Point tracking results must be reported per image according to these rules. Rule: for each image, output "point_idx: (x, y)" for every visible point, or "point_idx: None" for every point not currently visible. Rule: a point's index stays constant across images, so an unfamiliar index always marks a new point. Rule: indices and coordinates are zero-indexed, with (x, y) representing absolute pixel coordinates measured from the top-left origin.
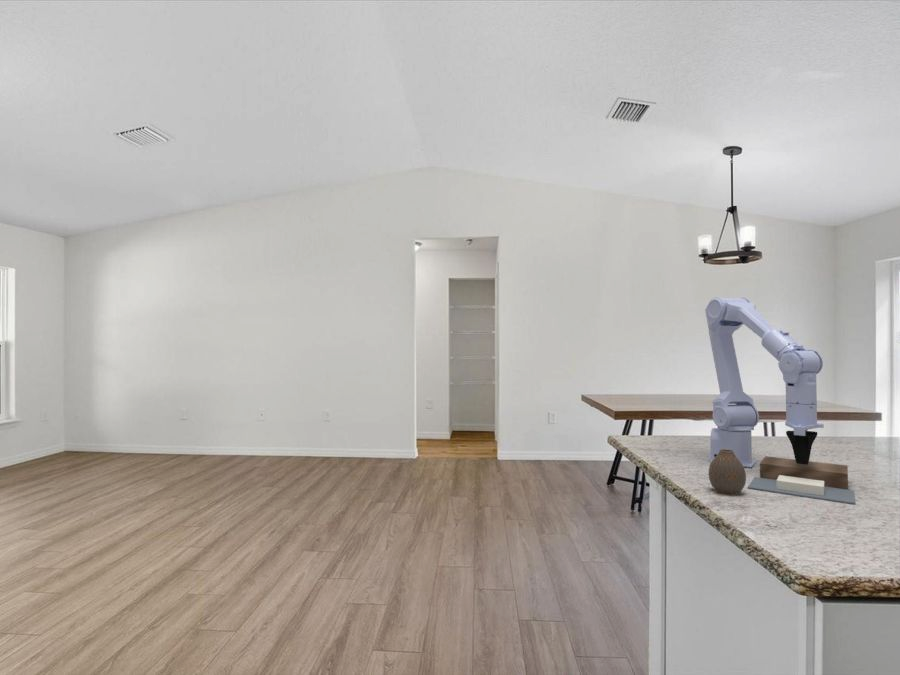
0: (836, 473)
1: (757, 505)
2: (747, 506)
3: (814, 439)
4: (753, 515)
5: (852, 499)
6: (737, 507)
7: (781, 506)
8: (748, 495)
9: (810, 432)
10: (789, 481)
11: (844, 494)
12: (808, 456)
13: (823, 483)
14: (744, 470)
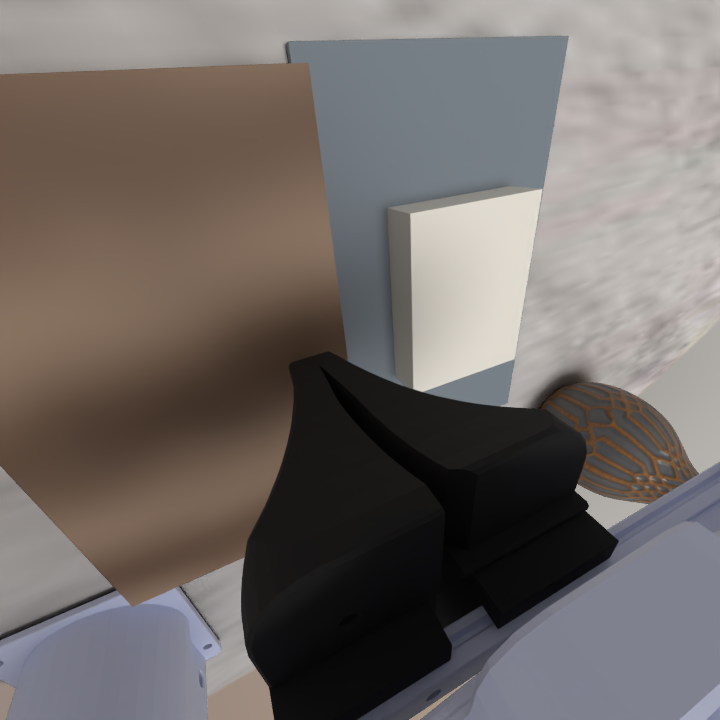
0: (320, 158)
1: (644, 309)
2: (655, 320)
3: (530, 410)
4: (708, 284)
5: (511, 50)
6: (665, 330)
7: (641, 265)
8: (569, 363)
9: (428, 574)
10: (510, 323)
11: (432, 98)
12: (360, 372)
13: (475, 203)
14: (640, 412)
